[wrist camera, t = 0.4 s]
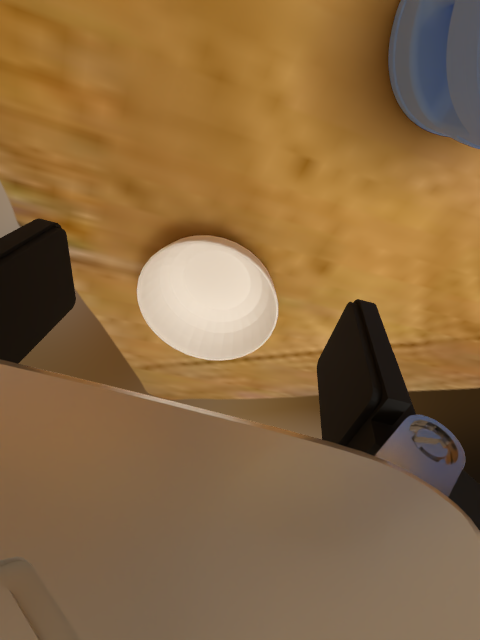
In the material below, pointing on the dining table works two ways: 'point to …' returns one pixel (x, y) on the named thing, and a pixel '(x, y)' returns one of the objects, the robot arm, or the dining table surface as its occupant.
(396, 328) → the dining table surface
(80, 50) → the dining table surface
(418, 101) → the water jug
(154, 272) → the bowl
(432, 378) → the dining table surface
